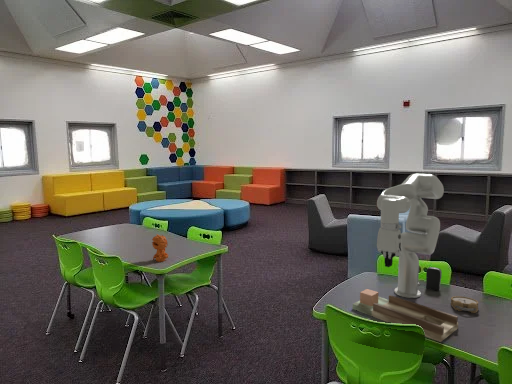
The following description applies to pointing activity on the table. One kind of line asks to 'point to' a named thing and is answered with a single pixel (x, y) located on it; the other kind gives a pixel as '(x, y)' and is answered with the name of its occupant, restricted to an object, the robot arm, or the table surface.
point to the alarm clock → (464, 304)
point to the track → (412, 316)
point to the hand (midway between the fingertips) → (388, 266)
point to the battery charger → (433, 278)
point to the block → (369, 297)
